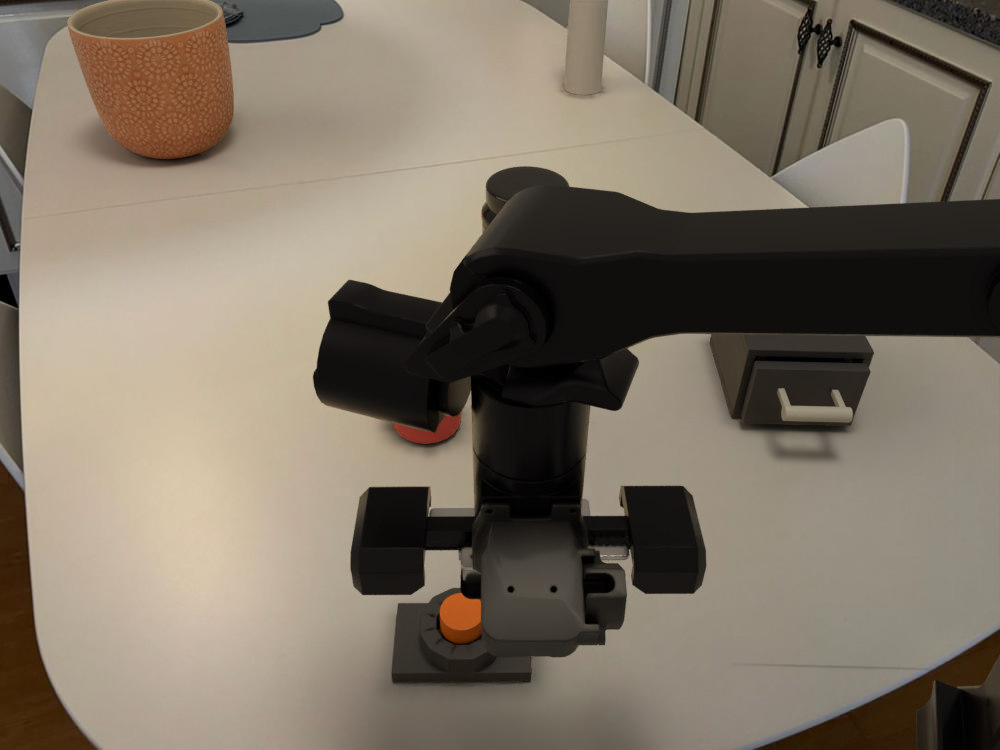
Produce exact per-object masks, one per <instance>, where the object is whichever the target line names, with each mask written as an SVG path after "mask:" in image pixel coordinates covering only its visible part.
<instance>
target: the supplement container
mask: <svg viewBox="0 0 1000 750" xmlns="http://www.w3.org/2000/svg"><path fill="white" fill-rule="evenodd" d="M539 185H559V186H568V187H570V184H569V182H568V180H567V179H566V178H565V177H564V176H563V175H561V174H560V173H558V172H556V171H554V170H551V169H549V168H544V167H539V166H531V165H527V166H526V165H522V166H513V167H512V166H511V167H507V168H504V169H501V170H498V171H496V172H495V173H493V174H491V175H490V176H489V177H488V179H487V180H486V181H485V201H484V203H483V204H482V206H481V210H480V218H481V223H482V224H481V229H482V230H481V235H482V234H483V232H484V231H485V230H486V229H487V227H488V226H489V225H490V223H491V222H492V221H493V220H494V218H495V217H496V216H497V214H498V213H499V212H500V211H501V209H502V208H503V207H504V205H505V204H506V203H507V202H508V201H509V200H510V199H511V198H512V197H513V196H514V195H515V194H516V193H518V192H520V191H522V190H523V189H526V188H530V187H535V186H539Z"/></svg>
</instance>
